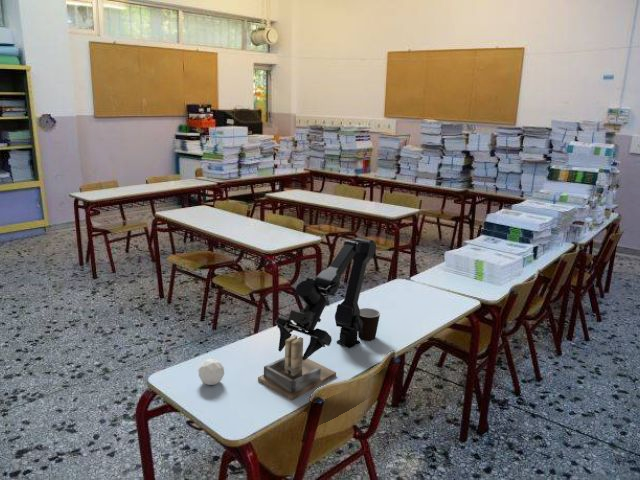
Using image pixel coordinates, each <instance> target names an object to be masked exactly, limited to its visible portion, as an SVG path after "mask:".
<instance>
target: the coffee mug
mask: <svg viewBox="0 0 640 480" xmlns="http://www.w3.org/2000/svg"><path fill="white" fill-rule="evenodd" d="M359 309H360V316H359V317H360V319H361V320H362V321H363V328H362V329H361V331H358V335H357V338H358V337H359V338H360V339H359V338H358V339H359V340H361V341H363V340H364V341H363V342H372V341H371V340H373V341H374V340H376V335H377V332H378V328H379V327H378V326H379V321H380V315H381V312H380V311H379V310H377V309H375V308H371V307H370V308H369V307H364V308H359Z"/></svg>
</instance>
